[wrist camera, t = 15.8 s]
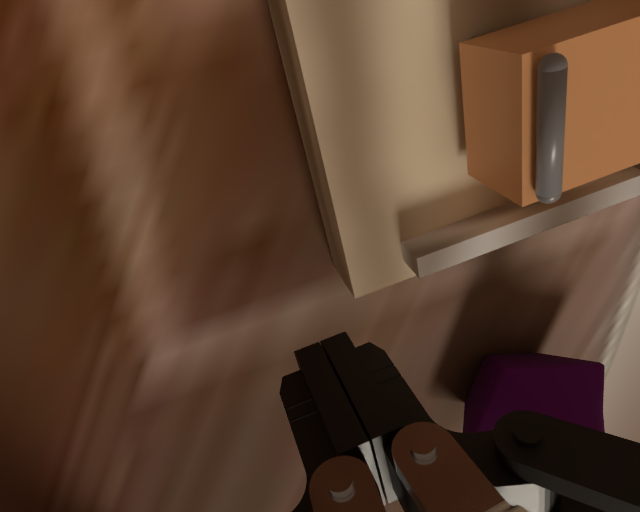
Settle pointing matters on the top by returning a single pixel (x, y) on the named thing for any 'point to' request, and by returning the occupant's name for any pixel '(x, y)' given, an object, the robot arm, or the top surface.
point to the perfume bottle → (535, 390)
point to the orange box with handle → (553, 100)
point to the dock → (407, 135)
